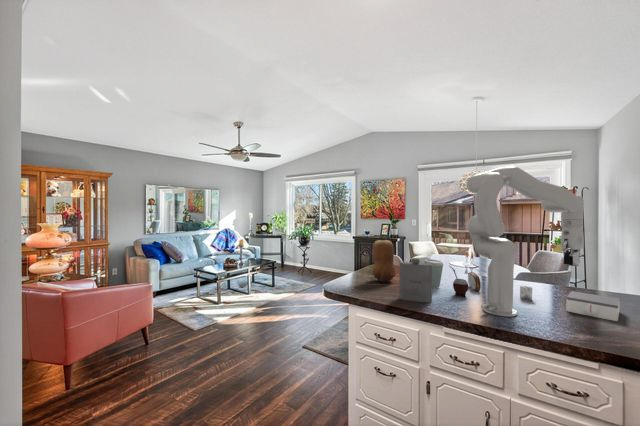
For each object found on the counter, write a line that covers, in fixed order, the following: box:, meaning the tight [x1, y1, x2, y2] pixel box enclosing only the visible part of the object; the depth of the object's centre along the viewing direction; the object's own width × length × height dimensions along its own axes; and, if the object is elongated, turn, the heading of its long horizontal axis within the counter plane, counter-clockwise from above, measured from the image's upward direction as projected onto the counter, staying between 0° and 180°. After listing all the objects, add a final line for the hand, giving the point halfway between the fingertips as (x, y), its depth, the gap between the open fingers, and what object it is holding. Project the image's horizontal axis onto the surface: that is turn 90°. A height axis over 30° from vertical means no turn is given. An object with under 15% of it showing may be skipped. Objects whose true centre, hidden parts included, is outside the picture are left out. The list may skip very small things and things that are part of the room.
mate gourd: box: [448, 265, 469, 298], centre depth 153 cm, size 8×8×15 cm
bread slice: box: [467, 271, 482, 292], centre depth 167 cm, size 15×3×8 cm, turn 168°
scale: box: [565, 290, 621, 322], centre depth 130 cm, size 17×16×6 cm
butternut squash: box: [372, 239, 397, 283], centre depth 180 cm, size 14×13×25 cm
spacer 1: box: [519, 285, 533, 302], centre depth 148 cm, size 5×5×6 cm
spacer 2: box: [563, 250, 580, 267], centre depth 135 cm, size 5×5×6 cm
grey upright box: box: [398, 257, 433, 303], centre depth 145 cm, size 15×6×20 cm, turn 70°
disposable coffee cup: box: [423, 258, 444, 289], centre depth 169 cm, size 11×11×15 cm
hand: (571, 263), depth 135 cm, fingers closed on spacer 2, 5 cm apart
